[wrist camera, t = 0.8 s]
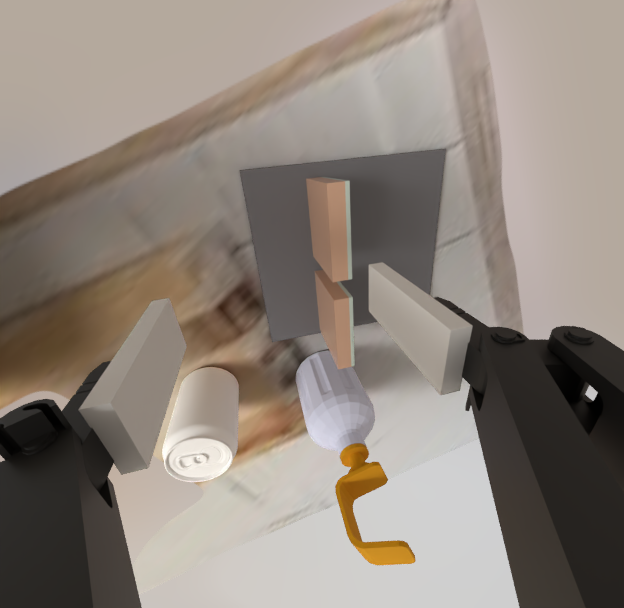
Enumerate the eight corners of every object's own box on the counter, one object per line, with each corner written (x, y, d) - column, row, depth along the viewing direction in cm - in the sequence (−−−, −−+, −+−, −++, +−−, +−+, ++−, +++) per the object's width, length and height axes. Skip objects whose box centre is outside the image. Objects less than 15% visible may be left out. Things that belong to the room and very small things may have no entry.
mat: (271, 339, 40) (272, 342, 40) (239, 170, 30) (239, 170, 30) (425, 309, 44) (427, 311, 43) (442, 149, 34) (445, 148, 33)
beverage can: (243, 400, 44) (243, 474, 34) (190, 412, 43) (172, 492, 32) (232, 359, 40) (228, 427, 30) (173, 370, 39) (147, 446, 29)
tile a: (313, 256, 36) (332, 282, 28) (306, 178, 32) (326, 183, 24) (329, 253, 36) (353, 278, 28) (324, 176, 32) (351, 180, 24)
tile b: (319, 329, 41) (338, 369, 33) (314, 271, 37) (333, 300, 29) (334, 326, 41) (355, 365, 33) (330, 268, 37) (354, 296, 29)
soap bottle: (357, 378, 47) (452, 558, 26) (308, 402, 47) (362, 601, 26) (339, 339, 43) (434, 516, 21) (285, 366, 43) (326, 569, 21)
